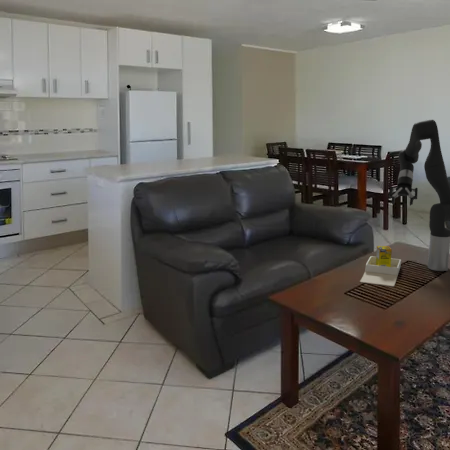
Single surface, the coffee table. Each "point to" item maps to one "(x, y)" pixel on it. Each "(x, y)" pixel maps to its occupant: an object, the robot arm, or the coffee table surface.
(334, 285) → the coffee table surface
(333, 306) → the coffee table surface
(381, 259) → the supplement box
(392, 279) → the box
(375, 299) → the coffee table surface
